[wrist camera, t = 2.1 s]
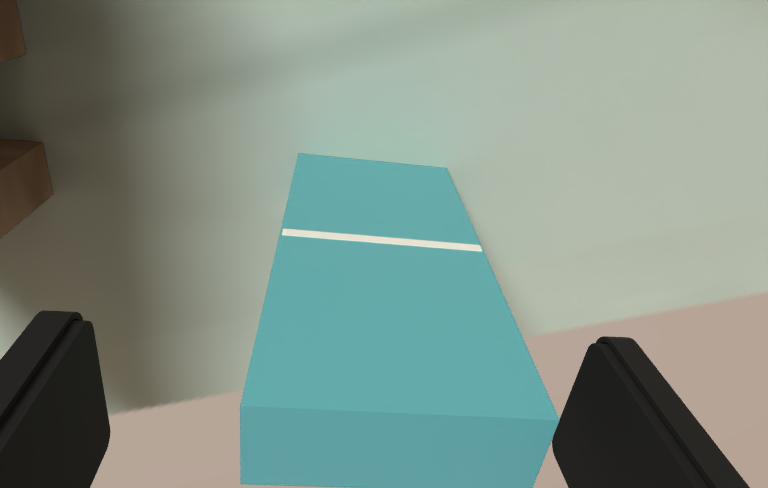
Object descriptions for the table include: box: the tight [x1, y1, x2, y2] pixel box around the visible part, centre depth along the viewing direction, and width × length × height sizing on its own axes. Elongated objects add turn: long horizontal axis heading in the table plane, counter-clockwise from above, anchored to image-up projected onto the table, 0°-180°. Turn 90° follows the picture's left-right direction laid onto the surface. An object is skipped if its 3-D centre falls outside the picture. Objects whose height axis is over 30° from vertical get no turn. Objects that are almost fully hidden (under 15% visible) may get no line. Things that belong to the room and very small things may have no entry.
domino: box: [240, 153, 560, 488], centre depth 13 cm, size 2×5×11 cm, turn 83°
